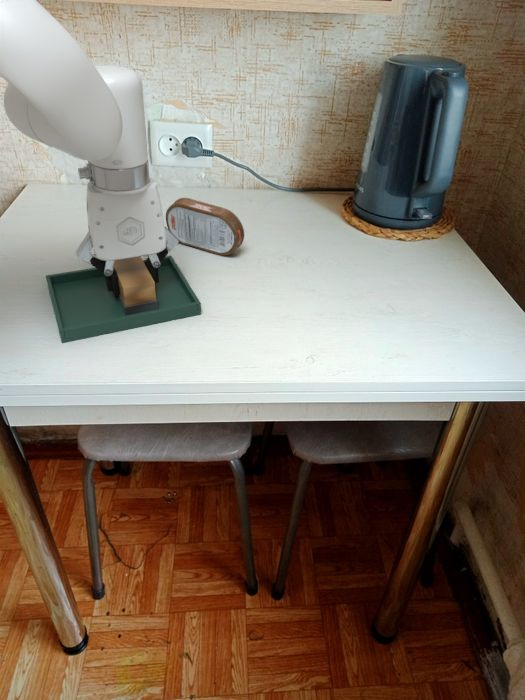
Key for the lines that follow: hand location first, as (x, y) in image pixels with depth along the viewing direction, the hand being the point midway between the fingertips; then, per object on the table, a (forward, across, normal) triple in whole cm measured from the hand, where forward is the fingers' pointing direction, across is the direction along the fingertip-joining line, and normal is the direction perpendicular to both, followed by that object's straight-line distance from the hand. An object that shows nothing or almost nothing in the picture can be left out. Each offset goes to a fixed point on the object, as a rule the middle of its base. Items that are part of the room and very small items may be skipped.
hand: (133, 288), depth 78 cm
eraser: (+1, 0, 0) cm, 1 cm away
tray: (+2, -2, 0) cm, 2 cm away
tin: (+2, +16, +12) cm, 20 cm away
